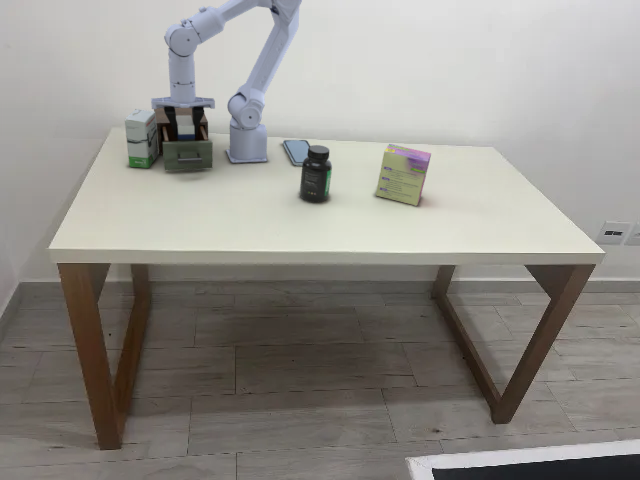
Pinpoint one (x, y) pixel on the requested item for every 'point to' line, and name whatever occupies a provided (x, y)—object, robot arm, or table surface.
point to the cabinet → (163, 121)
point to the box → (403, 174)
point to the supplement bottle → (316, 174)
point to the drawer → (186, 151)
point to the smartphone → (297, 150)
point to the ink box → (141, 138)
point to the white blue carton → (185, 128)
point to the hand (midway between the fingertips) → (185, 136)
